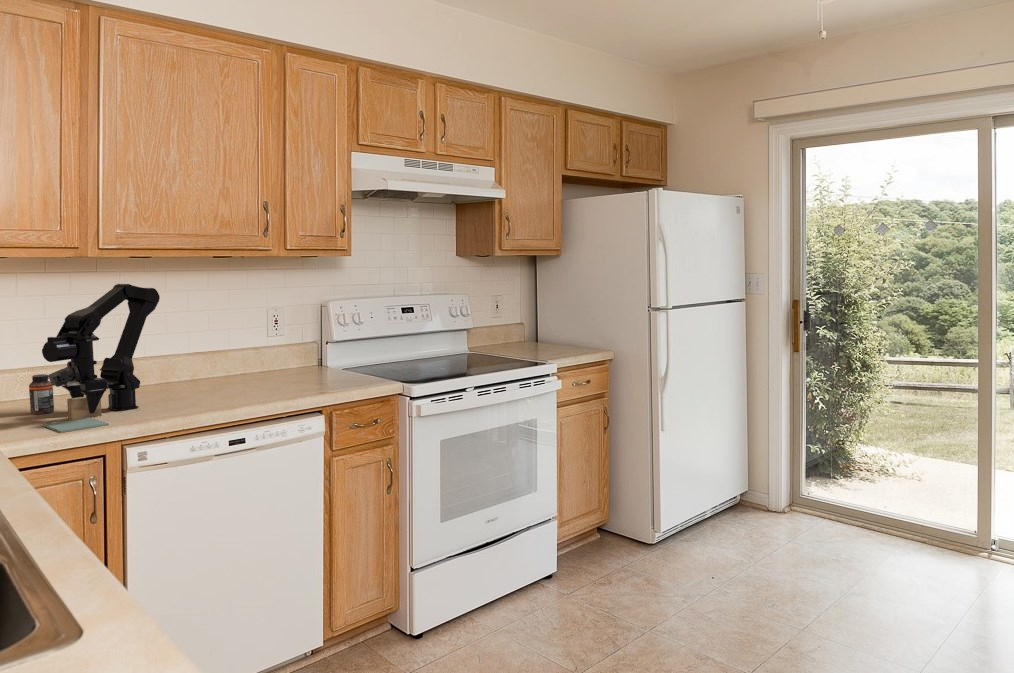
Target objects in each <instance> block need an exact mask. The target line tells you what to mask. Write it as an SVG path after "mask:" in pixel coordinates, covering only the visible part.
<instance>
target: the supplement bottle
mask: <svg viewBox="0 0 1014 673" xmlns="http://www.w3.org/2000/svg"><path fill="white" fill-rule="evenodd" d="M48 375H49V374H47V373H46V374H45V373H44V374H43V373H42V374H33V375H32V376H31V383H29V385H28V389H29V390H28V394H29V404H30V406H29V407H30V408H29V410H30V414H32V415H46V414H50V413H51V414H52V413H53V412H54V411H55V402H54V401H55V400H54V399H55V398H54V386H53V385H52V383H51V381H50V379H49V377H48Z"/></svg>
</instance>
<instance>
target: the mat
mask: <svg viewBox="0 0 1014 673" xmlns="http://www.w3.org/2000/svg"><path fill="white" fill-rule="evenodd" d="M104 426H109V422H106V421H102V420H100V419H96V418H94V417H93V418H90V417H89V418H82V419H76V420H64V421H57V422H52V423H44V424H42V427H43V428H46V427H47V429H49V430H53V431H54V432H58V433H62V434H63V433H67V432H74V431H80V430H87V429H92V428H99V427H104Z"/></svg>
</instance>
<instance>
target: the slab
mask: <svg viewBox="0 0 1014 673" xmlns="http://www.w3.org/2000/svg"><path fill="white" fill-rule="evenodd" d="M66 403H67V418H68V419H67V421H69V420H76V419H82V418H89V417H90V418H92V417H93V418H98V416H99V417H102V398H101V399H100V402H99V404H98V406H97V408H96V410H95V412H94V413H92V414H91V413H90V412H89V408H88V404H87V399H86V396H84V397H78V398H72V397H71V398H67V399H66Z"/></svg>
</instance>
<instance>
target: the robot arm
mask: <svg viewBox="0 0 1014 673" xmlns="http://www.w3.org/2000/svg"><path fill="white" fill-rule="evenodd" d="M112 287H113V288H111V289H110V290H109V291H107V292H106V293H104V294H103V295H102V296H101V297H99V298H98V299H97V300H96V301H94V302H93V303H91V304H90V305H89V306H87V307H84V308H81V309H78V310H76V311H73V312H71V313H69V314H68V315H67V316H65V318H64V322H63V324H62V326H61V328H60V329H59V331H58V332H57V335H56V336H49V337H48V336H47V341H46V342H45V343H44V344H43V346H42V349H41V354H42V356H43V358H44V359H45V360H46V361H47V362H49V363H55V362H61V361H67V363H66V367H64V368H61V369H59V370H56V371H54V372H52V373H49V374H47V375H48V378H49V379H48V380H49V381H50V382H51V383H52V385H53V387H54V386H55V387H58V388H59V387H61V388H63V389H65V390H66V391H68V393H69V395H70V397H71V398H78V397H86V399H87V404H88V408H89V412H90V413H91V414H92V413H94V412H95V410H96V408H97V406H98V404H99V402H100V399H101V400H102V397H103V396H104V395H105V394H104V393H105V392H106V391H107V390H109V393H108V396H107V397H108V400H107V401H108V406H107V408H108V410H113V411H116V412H117V411H125V410H131V409H133V410H134V409H139V405H137V402H136V397H137V396H136V390H137V389H140V386H141V380H140V379H139V378H138V377H137V376H136V375H135V374H134V371H135V367H134V362H133V356H134V355H135V351H136V348H137V345H138V342H139V340H140V338H141V337H140V336H141V334H142V331H143V329H144V326H145V323H146V321H147V320H146V319H147V318H148V316H149V315H150V314H151V313H153V312H154V311H155V310H156V308H157V306H158V304H159V303H160V299H161V298H160V294H159V292H158V290H157V289H156V288H154V287H140V286H135V285H132V284H130V283H117V284H114V286H112ZM124 301H127V306H128V310H129V314H128V316H127V319H126V322H125V324H124V326H123V330H122V333H121V335H120V338H119V340H118V344H117V347H116V349H115V352H114V354H112V356H111V357H105V358H104V359H103V362H102V366H101V368H100V369H99V371H100V374H99V375H100V377H98V374H95V365H98V364H97V363H98V362H97V360H95V359H94V343H93V342H97V341H99V340H100V337H98V336H97V335H95V334H94V332H95V331H96V330H97V329H98V327H100V325H101V323H102V319H103V318H104V317H105V316H107V315H108V314H109V313H110V312H112V311H113V310H114V309H116V308H117V307H118V306H119V305H121V304H122V303H123V302H124ZM68 360H69V361H68Z"/></svg>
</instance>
